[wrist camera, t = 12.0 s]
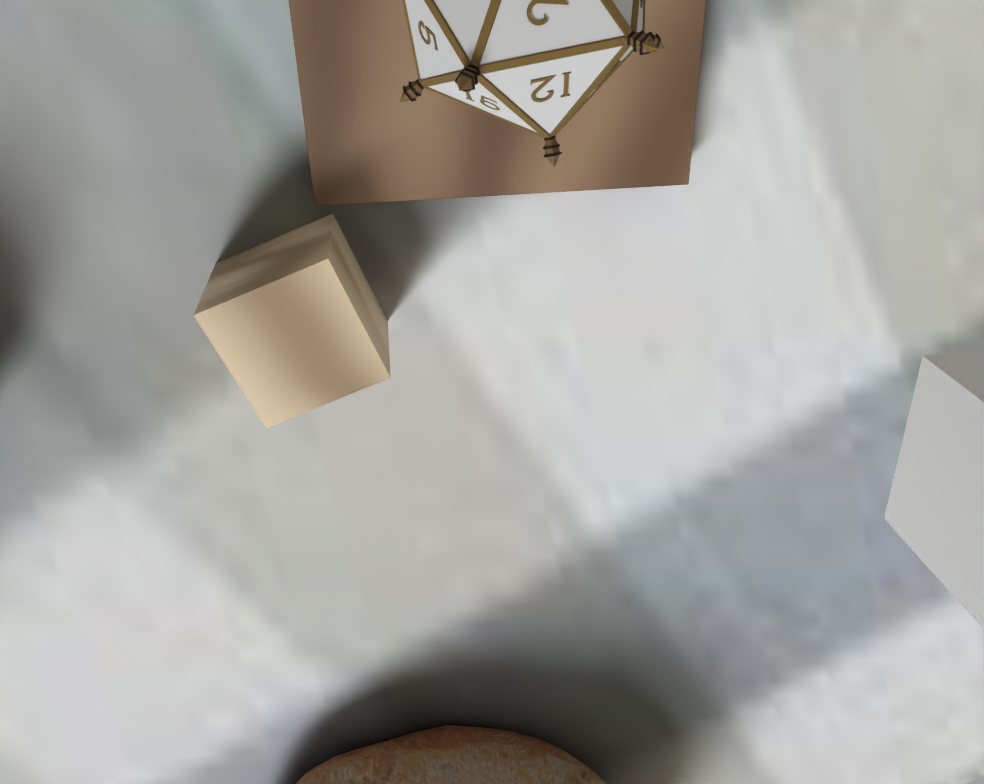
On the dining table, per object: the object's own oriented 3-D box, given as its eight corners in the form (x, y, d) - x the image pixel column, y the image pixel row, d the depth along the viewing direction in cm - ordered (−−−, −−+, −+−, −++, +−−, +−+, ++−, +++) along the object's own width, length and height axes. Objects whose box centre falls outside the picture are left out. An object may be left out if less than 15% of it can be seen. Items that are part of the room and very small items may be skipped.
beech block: (278, 365, 36) (266, 428, 31) (216, 262, 33) (193, 315, 29) (387, 320, 35) (390, 377, 31) (333, 212, 33) (328, 258, 28)
